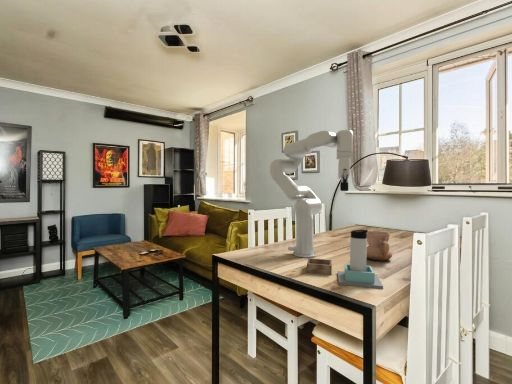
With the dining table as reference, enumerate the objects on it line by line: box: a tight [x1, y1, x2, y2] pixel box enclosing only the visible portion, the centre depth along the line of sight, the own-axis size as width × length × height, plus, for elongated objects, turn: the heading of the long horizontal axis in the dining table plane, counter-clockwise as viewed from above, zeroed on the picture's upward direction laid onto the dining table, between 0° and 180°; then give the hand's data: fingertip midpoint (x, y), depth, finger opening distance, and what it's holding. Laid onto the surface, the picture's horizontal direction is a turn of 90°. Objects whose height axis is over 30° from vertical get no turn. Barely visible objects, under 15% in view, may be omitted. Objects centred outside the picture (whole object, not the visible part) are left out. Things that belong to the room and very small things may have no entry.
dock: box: [337, 263, 384, 290], centre depth 112 cm, size 16×14×5 cm
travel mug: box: [349, 229, 369, 272], centre depth 112 cm, size 6×7×20 cm
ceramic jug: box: [366, 230, 393, 262], centre depth 144 cm, size 18×14×14 cm
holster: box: [306, 257, 333, 276], centre depth 125 cm, size 11×10×4 cm
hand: (344, 190), depth 134 cm, fingers open, 9 cm apart
